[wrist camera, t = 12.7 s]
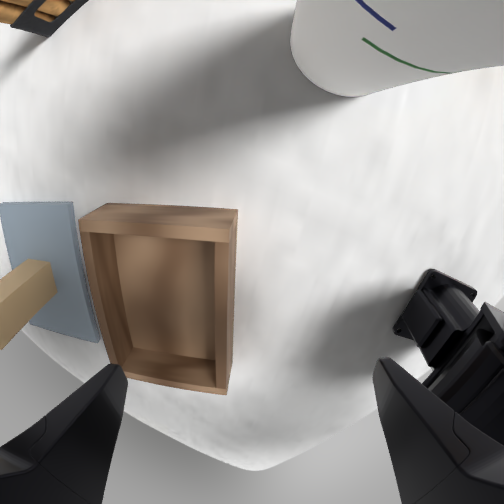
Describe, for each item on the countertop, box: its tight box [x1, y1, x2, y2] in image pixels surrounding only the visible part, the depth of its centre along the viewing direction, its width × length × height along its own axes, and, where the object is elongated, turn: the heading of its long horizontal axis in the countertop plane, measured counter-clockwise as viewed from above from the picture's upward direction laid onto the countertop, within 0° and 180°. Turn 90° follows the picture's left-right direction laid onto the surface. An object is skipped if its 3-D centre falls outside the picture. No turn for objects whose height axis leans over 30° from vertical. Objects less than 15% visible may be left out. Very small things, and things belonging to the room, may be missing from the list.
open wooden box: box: [78, 203, 238, 395], centre depth 21 cm, size 10×14×4 cm
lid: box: [0, 202, 100, 350], centre depth 19 cm, size 10×14×10 cm
